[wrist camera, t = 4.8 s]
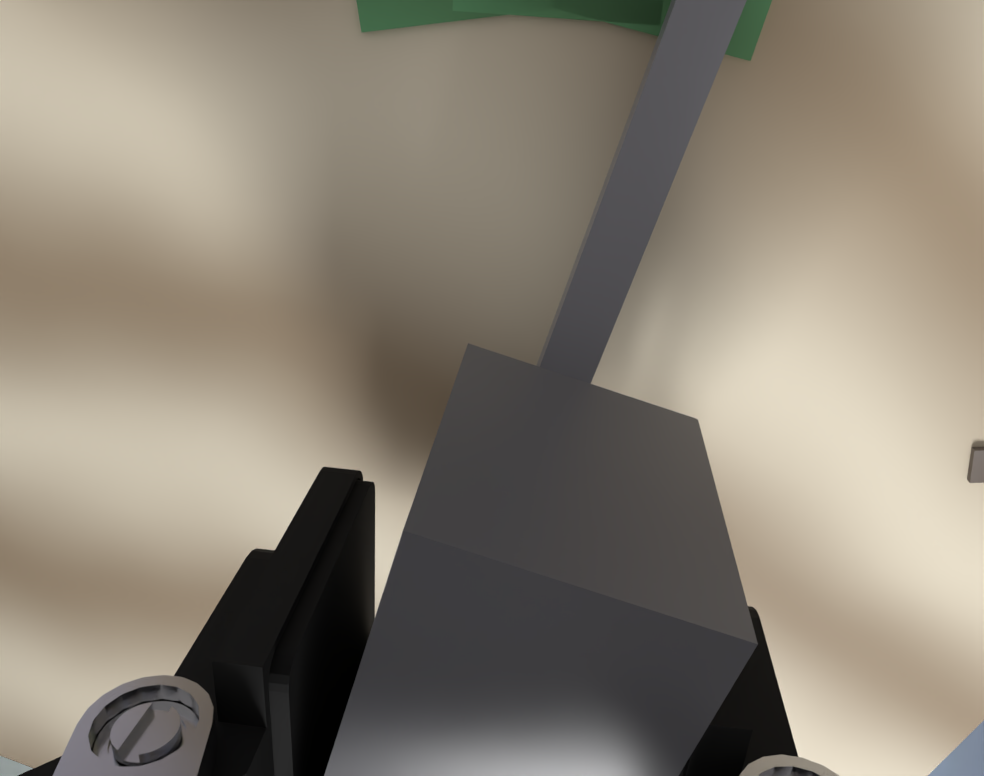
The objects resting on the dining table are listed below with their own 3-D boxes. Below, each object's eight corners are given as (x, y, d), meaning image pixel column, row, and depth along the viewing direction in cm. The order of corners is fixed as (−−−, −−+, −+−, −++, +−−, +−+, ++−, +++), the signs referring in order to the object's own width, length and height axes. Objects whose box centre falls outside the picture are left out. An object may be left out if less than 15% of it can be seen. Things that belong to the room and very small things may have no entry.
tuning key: (532, 658, 16) (497, 1076, 10) (382, 611, 16) (251, 1001, 10) (846, -47, 10) (1219, -119, 4) (622, -128, 10) (673, -313, 4)
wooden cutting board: (676, 933, 22) (684, 1021, 20) (-47, 652, 20) (-111, 718, 19) (1494, 47, 12) (1665, 56, 10) (193, -656, 10) (103, -806, 8)
